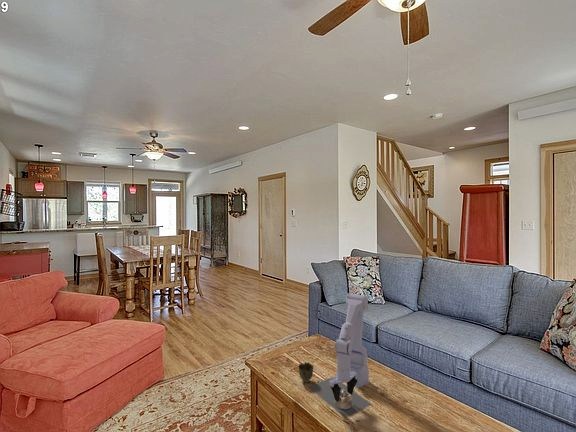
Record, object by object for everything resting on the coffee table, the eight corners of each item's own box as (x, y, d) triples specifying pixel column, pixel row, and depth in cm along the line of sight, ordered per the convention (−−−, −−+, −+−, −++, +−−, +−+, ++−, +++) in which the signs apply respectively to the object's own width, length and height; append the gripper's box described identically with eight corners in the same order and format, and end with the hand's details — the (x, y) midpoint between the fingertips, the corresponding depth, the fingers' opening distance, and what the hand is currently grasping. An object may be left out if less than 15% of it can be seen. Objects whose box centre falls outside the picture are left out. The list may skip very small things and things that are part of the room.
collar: (343, 397, 136) (343, 389, 136) (351, 404, 131) (351, 395, 131) (334, 401, 133) (334, 392, 133) (342, 408, 129) (342, 399, 128)
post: (343, 398, 137) (343, 385, 137) (354, 406, 131) (354, 393, 131) (332, 403, 133) (332, 390, 133) (342, 412, 127) (342, 398, 127)
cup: (301, 387, 146) (301, 370, 146) (296, 378, 153) (296, 363, 153) (315, 384, 148) (315, 368, 148) (310, 376, 155) (310, 361, 155)
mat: (333, 377, 154) (333, 376, 154) (372, 405, 132) (372, 404, 132) (308, 387, 146) (308, 386, 146) (345, 418, 124) (345, 417, 124)
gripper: (349, 358, 139) (349, 387, 139) (324, 367, 131) (324, 398, 131) (360, 365, 133) (360, 395, 133) (335, 374, 125) (335, 407, 125)
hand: (343, 397), depth 132 cm, fingers open, 7 cm apart
